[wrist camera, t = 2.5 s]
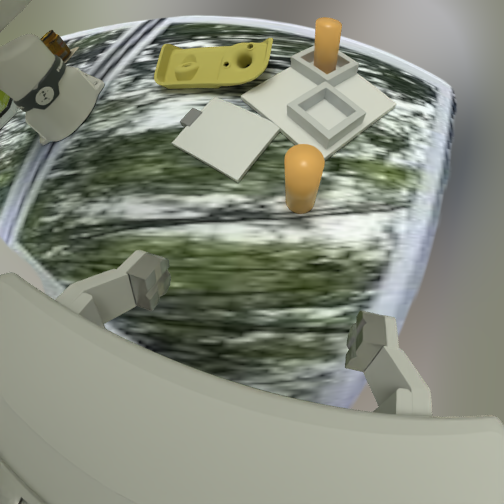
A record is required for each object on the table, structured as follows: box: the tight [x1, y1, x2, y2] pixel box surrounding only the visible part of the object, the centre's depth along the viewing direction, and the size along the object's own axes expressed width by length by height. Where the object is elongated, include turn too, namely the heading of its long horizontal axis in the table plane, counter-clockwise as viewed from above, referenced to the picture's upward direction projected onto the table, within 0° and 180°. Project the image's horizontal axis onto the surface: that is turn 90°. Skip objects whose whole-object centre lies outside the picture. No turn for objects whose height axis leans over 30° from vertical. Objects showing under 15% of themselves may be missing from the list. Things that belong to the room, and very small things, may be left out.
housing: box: [241, 17, 396, 161], centre depth 30 cm, size 16×18×11 cm
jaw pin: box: [285, 144, 325, 214], centre depth 28 cm, size 4×4×10 cm
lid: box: [172, 97, 280, 183], centre depth 36 cm, size 14×10×1 cm
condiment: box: [40, 30, 79, 63], centre depth 45 cm, size 7×8×12 cm
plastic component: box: [154, 38, 273, 89], centre depth 37 cm, size 20×7×10 cm
